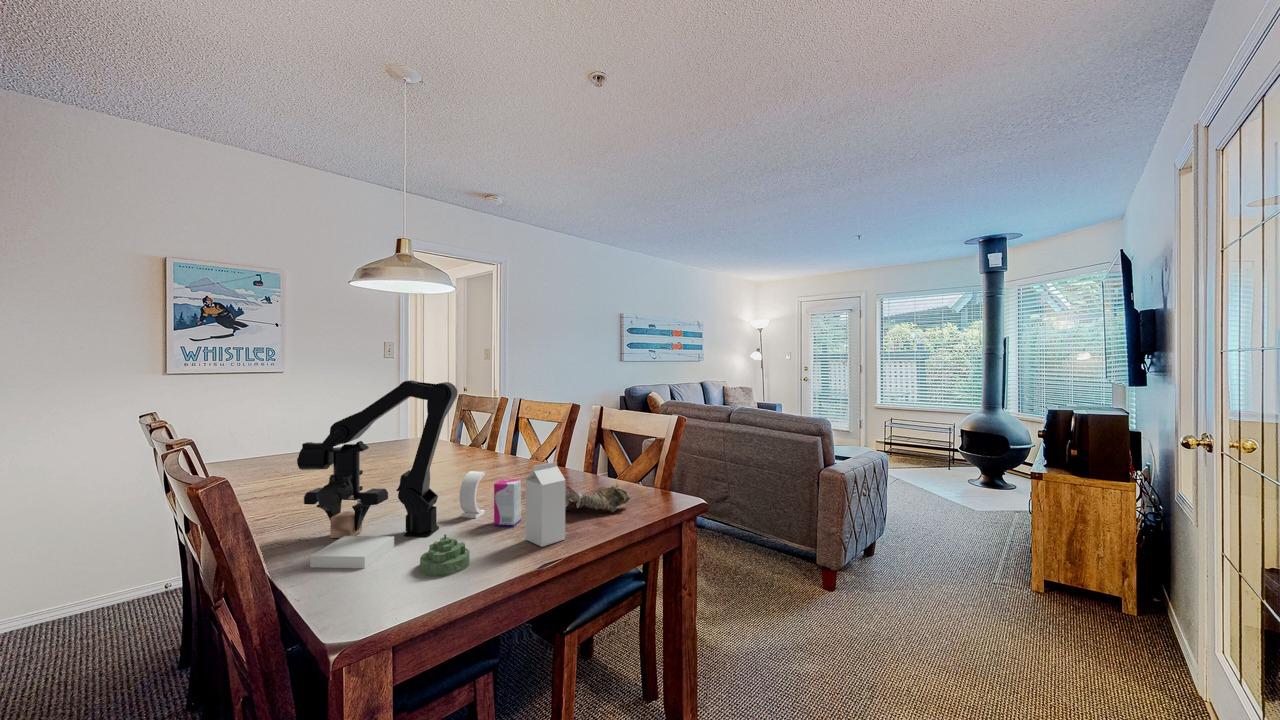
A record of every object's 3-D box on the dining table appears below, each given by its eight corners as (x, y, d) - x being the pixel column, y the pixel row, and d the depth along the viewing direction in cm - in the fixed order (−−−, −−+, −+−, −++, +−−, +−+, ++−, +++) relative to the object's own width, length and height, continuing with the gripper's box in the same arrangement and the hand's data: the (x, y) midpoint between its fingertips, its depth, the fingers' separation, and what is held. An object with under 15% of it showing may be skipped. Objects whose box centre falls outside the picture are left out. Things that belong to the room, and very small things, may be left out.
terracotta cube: (362, 530, 128) (362, 511, 128) (350, 537, 123) (350, 517, 123) (343, 530, 128) (343, 511, 128) (330, 537, 123) (330, 517, 123)
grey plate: (394, 546, 118) (394, 536, 118) (364, 568, 106) (364, 556, 106) (344, 546, 119) (344, 535, 119) (310, 567, 107) (310, 555, 107)
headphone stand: (485, 512, 144) (485, 471, 144) (474, 519, 139) (474, 476, 138) (470, 511, 145) (470, 471, 145) (459, 518, 139) (459, 475, 139)
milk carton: (565, 539, 123) (565, 463, 123) (541, 547, 118) (542, 468, 118) (548, 532, 128) (548, 459, 128) (524, 540, 123) (525, 463, 123)
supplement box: (521, 520, 138) (521, 479, 138) (514, 527, 132) (514, 484, 132) (501, 519, 139) (501, 478, 139) (493, 526, 133) (493, 483, 133)
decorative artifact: (454, 554, 115) (411, 568, 107) (454, 523, 115) (411, 535, 107) (478, 565, 108) (434, 581, 101) (478, 533, 108) (434, 547, 101)
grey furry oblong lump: (613, 496, 161) (613, 472, 161) (637, 509, 148) (637, 483, 148) (540, 509, 149) (540, 483, 148) (559, 524, 135) (559, 496, 135)
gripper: (287, 475, 118) (287, 541, 118) (364, 476, 117) (364, 542, 117) (318, 465, 129) (318, 525, 129) (389, 466, 128) (389, 526, 128)
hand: (346, 530), depth 126 cm, fingers closed on terracotta cube, 5 cm apart
